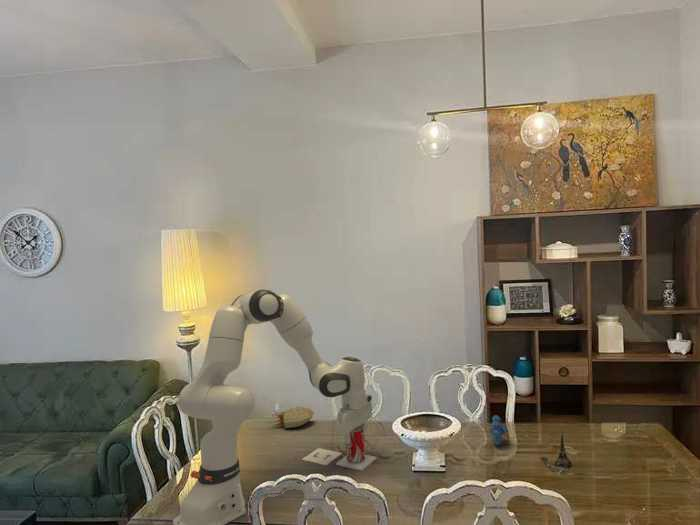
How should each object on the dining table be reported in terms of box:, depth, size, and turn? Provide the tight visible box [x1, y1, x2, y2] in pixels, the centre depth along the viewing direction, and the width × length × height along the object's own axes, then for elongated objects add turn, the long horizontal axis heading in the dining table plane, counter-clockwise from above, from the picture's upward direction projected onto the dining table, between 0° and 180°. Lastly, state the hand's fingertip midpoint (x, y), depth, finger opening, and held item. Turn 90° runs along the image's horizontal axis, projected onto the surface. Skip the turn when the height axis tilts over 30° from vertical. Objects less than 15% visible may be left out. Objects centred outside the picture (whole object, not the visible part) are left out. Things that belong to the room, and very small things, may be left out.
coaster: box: [335, 454, 378, 471], centre depth 187 cm, size 11×11×1 cm
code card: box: [301, 447, 343, 466], centre depth 192 cm, size 11×11×1 cm
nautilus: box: [267, 406, 315, 429], centre depth 227 cm, size 8×22×15 cm
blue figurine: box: [489, 414, 509, 446], centre depth 195 cm, size 12×7×12 cm, turn 164°
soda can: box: [345, 426, 366, 463], centre depth 187 cm, size 7×7×12 cm
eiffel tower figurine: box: [538, 431, 586, 476], centre depth 176 cm, size 15×10×13 cm
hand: (355, 438), depth 186 cm, fingers open, 8 cm apart
